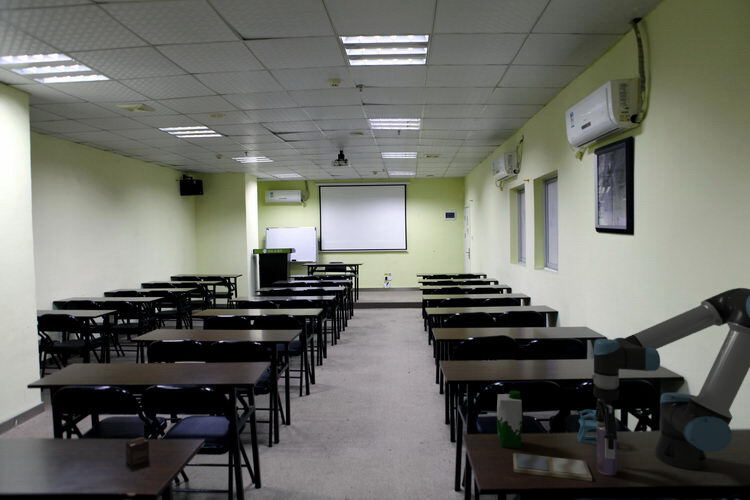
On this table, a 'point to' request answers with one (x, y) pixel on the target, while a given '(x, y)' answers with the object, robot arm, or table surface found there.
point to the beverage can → (604, 464)
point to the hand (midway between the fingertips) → (605, 449)
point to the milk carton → (509, 419)
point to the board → (551, 467)
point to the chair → (587, 426)
